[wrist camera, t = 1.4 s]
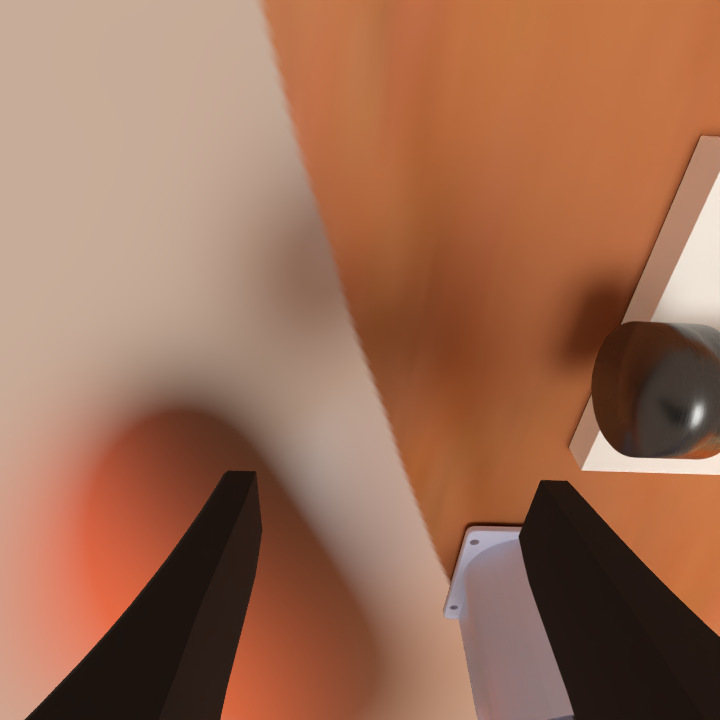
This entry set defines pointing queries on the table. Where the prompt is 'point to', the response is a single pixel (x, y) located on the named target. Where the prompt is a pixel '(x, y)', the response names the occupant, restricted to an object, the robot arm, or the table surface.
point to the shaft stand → (672, 300)
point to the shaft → (659, 390)
